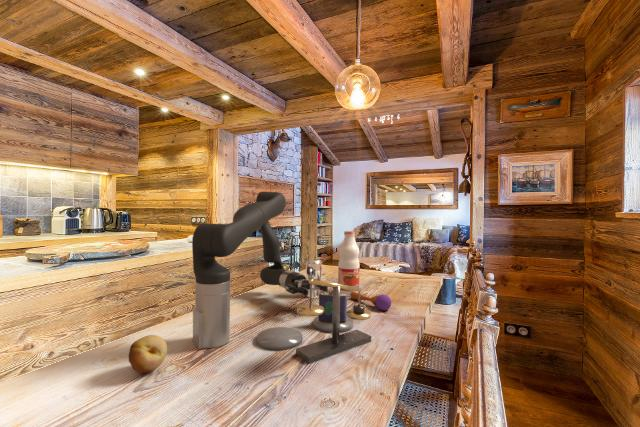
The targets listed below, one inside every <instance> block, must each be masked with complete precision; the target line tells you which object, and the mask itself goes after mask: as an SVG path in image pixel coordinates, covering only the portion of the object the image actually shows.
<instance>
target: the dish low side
mask: <svg viewBox="0 0 640 427" xmlns="http://www.w3.org/2000/svg"><path fill="white" fill-rule="evenodd" d="M312 322H313V324H312V325H313V328H314V329H316V330H318V331H320V332H324V333H328V334H329V333H330V334H332V323H328V322H320V321H319V316H315V318H313V320H312ZM353 327H354V321H353V319H351V318H349V317H348V316H347V321H346V322H345V323H340V328H339V334H341V333H347V332H350V331H352V329H353Z"/></svg>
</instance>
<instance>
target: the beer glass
mask: <svg viewBox="0 0 640 427" xmlns="http://www.w3.org/2000/svg"><path fill="white" fill-rule="evenodd" d="M322 264H323V262H322V261H321V260H307V261H306V263H305V277H306V279H308V280H310V279H313V280H314V279H317V280H320V281H322V276H323V275H322V274H323V265H322ZM312 288H314V285H312ZM318 288H319V287H318ZM320 293H321V290H317V289H316V290H315V291H313V290H312V299H319V294H320ZM306 297H307V298H309V299H310V290H308V295H307V296H306Z"/></svg>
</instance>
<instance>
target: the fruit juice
mask: <svg viewBox="0 0 640 427" xmlns="http://www.w3.org/2000/svg"><path fill="white" fill-rule="evenodd" d="M343 233H344V234H343V235H344V238H343V242H342V243H341V245H340V247H339V248H338V255H339V260H338V264H337V265H338V266H337V267H338V272H337V273H338V274H337V275H338V277H337V284H342V285H348V286H353V287H359V288H360V268H361V266H360V260H359V259H360V258H359V256H360V254H361V252H360V248H359V246H358V245H357V244H358V243H357V242H356V238H355V236H356V232H355V231H354V230H353V231H352V230H345V231H344V232H343ZM351 292H352V291H351V290H345V289H340V294H346V295H347V298H348V297H350V294H351ZM354 292H357V291H354ZM357 293H358V292H357ZM350 298H351V297H350Z"/></svg>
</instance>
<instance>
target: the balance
mask: <svg viewBox="0 0 640 427" xmlns="http://www.w3.org/2000/svg"><path fill="white" fill-rule="evenodd" d="M309 283H310V298H309V303H307V304H306V303H305V304H301V305H298V306H297V307H296V313H297V315H298V314H299V315H300V316H304V317H318V316H319V315H322V314H323V313H324V307H322V306H320V305H319V304H315V303H312V302H313V301H312V300H313V298H312V284H314V285H320V286H326V287H328V288H332V289H333V312H332V333H331V337H329V338H325V339H322V340H319V341H316V342H312V343H309V344H306V345H304V346H300V347H295V355H296V356H297V357H299V358H300V359H302V360H303V361H305V362H306V363H308V364H309V365H310V364H313V363H315V362H318V361H321V360H323V359H326V358H329V357H332V356H334V355H338V354H340V353H342V352H345V351H348V350H351V349H354V348H357V347H359V346H362V345H365V344H368V343H371V342H372V335H370V334H367V333H366V332H363V331H362V330H360V329H354V330H349V331H346V332H343V333H342V334H341V333H339V328H340V289H345V290H351V291H357V292H358V300H357V304H354V305H353V306H352V309H347V317H348V318H350V319H352V320H358V321H364V320H369V319H371V317H372V312H371V311H369V310H367V309H365V306H364V305H361V302H360V301H361V300H360V294H361V291H362V288H361V287H360V286H359V287H353V286H348V285H342V284H338V283H336V282H330V281H323V280H321V281H319V280H313V279H310V280H309Z"/></svg>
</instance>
